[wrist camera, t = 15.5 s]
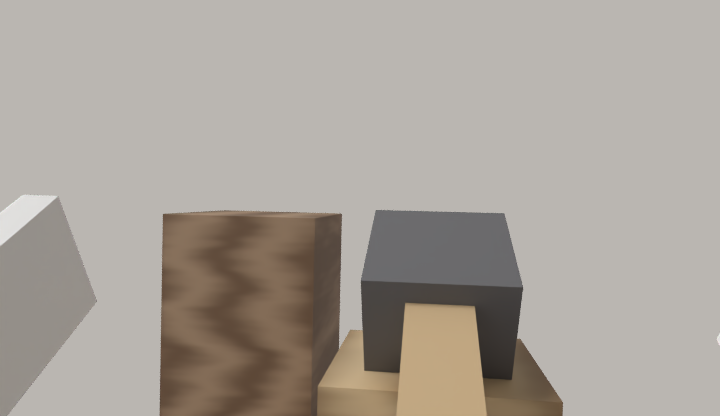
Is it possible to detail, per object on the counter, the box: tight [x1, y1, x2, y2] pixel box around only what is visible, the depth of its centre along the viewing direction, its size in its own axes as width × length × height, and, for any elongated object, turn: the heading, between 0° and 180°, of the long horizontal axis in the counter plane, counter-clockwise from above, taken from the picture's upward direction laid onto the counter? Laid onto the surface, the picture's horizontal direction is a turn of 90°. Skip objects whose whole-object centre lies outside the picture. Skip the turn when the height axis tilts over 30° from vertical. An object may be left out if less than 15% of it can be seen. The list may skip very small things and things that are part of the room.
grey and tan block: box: [361, 210, 523, 416], centre depth 26 cm, size 8×21×6 cm, turn 173°
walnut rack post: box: [160, 211, 342, 416], centre depth 48 cm, size 12×13×32 cm
